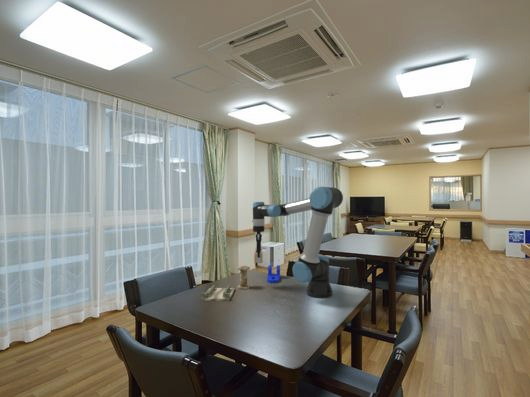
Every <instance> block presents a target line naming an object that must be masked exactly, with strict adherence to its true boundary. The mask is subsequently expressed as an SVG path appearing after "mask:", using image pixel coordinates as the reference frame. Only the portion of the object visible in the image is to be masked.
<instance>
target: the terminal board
mask: <svg viewBox="0 0 530 397" xmlns="http://www.w3.org/2000/svg"><path fill="white" fill-rule="evenodd" d="M235 291H236V287H231V285H230V284H227V286H226V287H216V284H212V286H211V287H209V288H208V290H206V292H201V298H200V300H201V302H202V301H203V302H204V301H205V302H206V301H207V302H215V301H216V302H230V300H231V298H232V296H233V294H234V292H235Z"/></svg>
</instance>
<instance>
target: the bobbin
mask: <svg viewBox="0 0 530 397" xmlns="http://www.w3.org/2000/svg"><path fill="white" fill-rule="evenodd" d="M236 268H237V271H239V275H240V276H239V277H240V278H239V280H240V281H239V282H240V283H239V285H237V289H238V290H249V289H250V287H251V286H250V284H248V271H249V270H250V269H251V267H250V266H247V265H242V266H240V265H239V266H238V267H236Z"/></svg>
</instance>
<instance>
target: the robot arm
mask: <svg viewBox="0 0 530 397" xmlns="http://www.w3.org/2000/svg"><path fill="white" fill-rule="evenodd" d="M343 201H344V194H343V192H342V191H341V190H340V189H338V187H333V186H332V187H330V186H329V187H328V186H318V187H315V188H314V189H313V190H312V191H311V193H310V195H309V197H307V198H303V199H298V200H295V201H291V202H287V203H283V204H265V201H254V202H253V203H252V220H251V222H252V232H253V233H256V234H255V241H256V251H254V253H255V252H257V263H256V264H262V263H261V252H262V251H263V249H262V240H263V239H262V235H263V234H261V233H264V232H265V224H266V223H265V217H267V218H269V217H270V218H277V217H287V216H290V215H295V214H298V213H303V212H304V213H305V212H308V211H311V212H312V214H311V219H310V222H309V226H308V230H307V234H306V239H305V243H304V246H303V247H304V248H303V250H302V251H303V252H302V253H301V254H299V256H298V260H297V261H296V262H295V263H294V264H293V266H292V274H293V277H294V278H295V279H296V280H297V281H298V282H300V283H301V284H303V283H304V284H305V283H308V284H307V288H306V295H307V296H309V297H312V298H317V299H325V298H331V297H332V296H333V289H332V286H331V283H330V258H329V257H328V256H327V255H321V254H320V251H321V246H322V243H323V239H324V235H325V231H326V227H327V222H328V219H329V217H330V216H331V215H332V214H333V211H334V209H336V208H339V207H340V206H341V205H342V203H343Z"/></svg>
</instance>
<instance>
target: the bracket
mask: <svg viewBox="0 0 530 397" xmlns="http://www.w3.org/2000/svg"><path fill="white" fill-rule="evenodd" d="M272 267H273V266H272V265H271V264H270V265H268V266H267V278H266V283H268V284H278V283H280V279H281V265H280V264H279V265H276V273H273V272H272V271H273V270H272Z"/></svg>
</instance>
